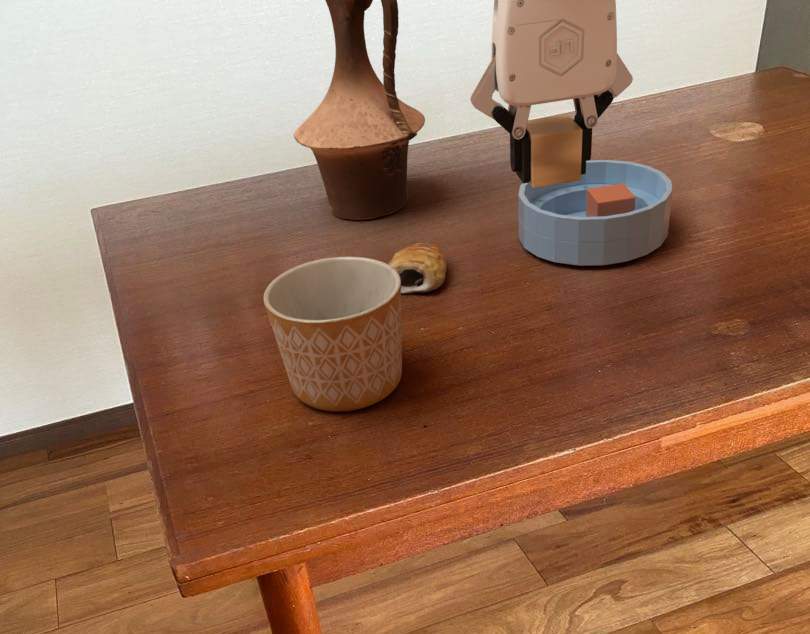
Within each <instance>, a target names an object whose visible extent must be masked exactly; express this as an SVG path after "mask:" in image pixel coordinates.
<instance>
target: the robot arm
mask: <svg viewBox="0 0 810 634" xmlns="http://www.w3.org/2000/svg"><path fill="white" fill-rule="evenodd" d="M616 1H617V0H494V1H493V11H492V24H491V25H492V27H491V45H490V46H491V47H490V50H491V51H490V62H489V64H488V66H487V68H486V69H485V71H484V73H483V75H482V76H481V78H480V80H479V81H478V83H477V85H476V87H475V89H473V90H474V91H473V92H472V93H471V96H470V97H469V98H470V99H469V100H470V103H471V105H472V106H473V107H474V108H475V109H476V110H478V111H479V112H480V113H482V114H483V115H485V116H487V117H489V118H491V119H492V120H494V121H495V122H496V123H497V124H498V125H499V126H500V127H502V129H504V130H505V131H506V132H507V133H508V134H509V163H510V165H509V166H510V169H511V171H512V173H516V175H517V177H518V179H519V181H521V184H522V183H523V184H524V183H529V181H531V141H530V138H529V137H528V136H527V129H526V127H527V123H528V120H529V118H530V113H531V110H532V109H531V108H532V106H536V105H542V104H549V103H556V102H561V101H569V100H572V101H573V107H574V111H575V114H574V118H572V119H573V120H574V121H575V122H576V123H577V124H578V125H579V126H580V128H581V129H582V157H581V174H585V173H586V161H589V160H592V149H593V148H592V145H593V128H595V127H596V126H597V125H598V122H599V119H600V117H601V116H602V115H603V114H604V112H606V110H607V109H608V108H609V107H610V106H611V104H612V103H613V101H614V99H616V98H617V97H618V96H619V95H621V94H622V93H624V91H626V89H627V88H628V87H630V86H631V85H632V83H633V80H634V77H633V75H632V73H631V72H630V71H629V69H628V68H627V66H626V64H625V63H624V61H623V60H622V58H621V57H620V55H619V54H618V35H617V34H618V31H617V30H618V28H617V27H618V26H617V25H618V24H617V4H616V3H617V2H616ZM495 91H496V92H498V94H499V97H500V98H501V99H502V101H503V102H504V103H506V104H507V108H506V107H504V105H503V104H501V103H500V102H498V101H496V100H494V99H493V94H494V93H495Z"/></svg>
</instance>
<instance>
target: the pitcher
mask: <svg viewBox="0 0 810 634" xmlns="http://www.w3.org/2000/svg"><path fill="white" fill-rule="evenodd" d="M324 1H325V4H326V5H327V8H328V11H329V14H330V18H331V19H330V20H331V23H332V29H333V34H334V35H333V36H334V44H335V45H334V46H335V58H334V59H335V61H334V68H333V73H332V76H331V77H332V78H331V80H330V84H329V87H328V89H327V92H326V94H325V96H324V98H322V101H321V102H320V104H319V105H318V106H317V107H316V109H314V111H313V112H312V113H311V114H310V115H309V116H308V117H307V118H306V119H305V120H304V121H303V122H302V124H300V125H299V126H298V127H297V128H296V130H295V131H294V134H293V137H294V140H295V141H296V143H298V144H299V145H301V146H303V147H305V148H308V149H310V150H311V151H312V153H313V156H314V158H315V160H316V163H317V167H318V170H319V173H320V178H321V179H322V182H323V186H324V190H325V193H326V197H327V202H328V207H329V211H330V213H331V214H332V215H334V216H335V217H337V218H340V219H346V220H355V221H356V220H357V221H358V220H369V219H376V218H378V217H383V216H387V215H391V214H393V213H396V212H397V211H399V210H401V209H403V208H404V207H405V206H406V205H407V203H408V201H409V194H408V155H409V154H408V152H409V144H410V141H411V140H413V139H414V138H415V137H416V136H418V132H419V131H420V130H421V129H422V128H423V127H424V125H425V123H426V118H425V117H426V116H425V115H424V114H423V113H422V112H421V111H420V110H419V109H416V108H415V107H412V106H410V105H409V104H407V103H405V102H404V101H402V99H399V98H398V95H397V91H396V79H395V78H396V75H395V74H396V73H395V67H396V58H397V53H396V50H397V43H398V35H399V21H400V20H399V19H400V18H399V3H398V0H380V2H381V8H382V23H383V24H382V25H383V28H382V30H383V38H382V45H383V49H382V54H383V55H382V69H383V70H382V74H383V76H382V79H383V82H382V81H381V80H380V78H379V77H378V75H377V73H376V72H375V69H374V67H373V66H372V63H371V61H370V57H369V55H368V54H369V53H368V49H367V44H366V43H367V42H366V36H365V35H366V34H365V14H366V11H367V10H368V9H370V7H372V3H373V1H374V0H324Z"/></svg>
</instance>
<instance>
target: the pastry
mask: <svg viewBox="0 0 810 634" xmlns="http://www.w3.org/2000/svg"><path fill="white" fill-rule="evenodd" d="M387 264H388V265H390V266H391V267H392V268H394V269H395V270H396V271H397V273H398V274H399V276H400V279H401V295H407V294H413V293H428V292H431V291H436V290H437V289H438V288H439V287H441V286H442V285H443V284H444V282H445V279H446V272H447V268H448V266H447V265H448V264H447V259H446V257H445V254H444V253H443V250H442V249H441V248H440V246H439V245H436V244H432V243H431V244H430V243H426V242H416V243H414V244H412V245H410V246H406V247H405V248H403V249H400V250H399V251H396V252H395V253H394V255H393V257H392V259H390V260H389V261H388V263H387Z"/></svg>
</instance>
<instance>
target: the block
mask: <svg viewBox="0 0 810 634" xmlns="http://www.w3.org/2000/svg"><path fill="white" fill-rule="evenodd" d="M573 119H574V118H572V117H571V116H570V115H569V114H559V115H555V116H547V117H542V118H534V119H530V120H529V119H528V123H527V127H526V129H527V136H528V137H529V138H530V141H531V181H529V183H530V184H531V186H532V187H533V188H536V187H542V186H548V185H555V184H561V183H567V182H574V181H580V180H581V157H582V129H581V128H580V126H579V125H578V124H577V123H576V122H575V121H574V120H573Z"/></svg>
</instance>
